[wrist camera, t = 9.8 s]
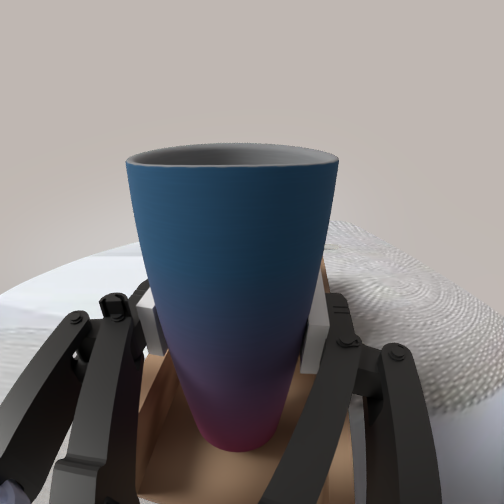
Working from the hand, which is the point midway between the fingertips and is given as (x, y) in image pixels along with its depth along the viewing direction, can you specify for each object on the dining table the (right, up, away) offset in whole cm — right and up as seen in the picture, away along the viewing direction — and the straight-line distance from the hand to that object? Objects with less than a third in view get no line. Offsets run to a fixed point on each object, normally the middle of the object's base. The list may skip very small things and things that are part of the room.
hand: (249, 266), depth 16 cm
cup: (-1, -10, -1) cm, 10 cm away
